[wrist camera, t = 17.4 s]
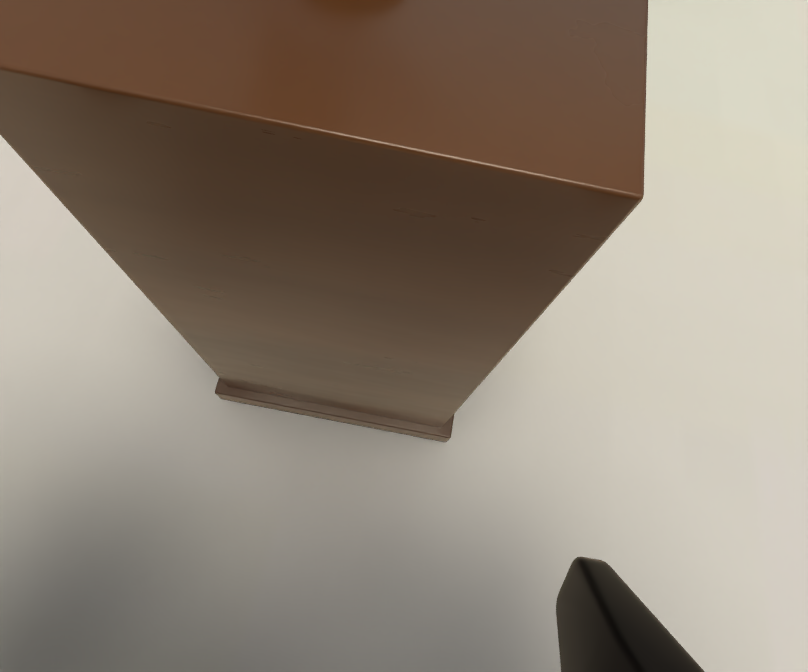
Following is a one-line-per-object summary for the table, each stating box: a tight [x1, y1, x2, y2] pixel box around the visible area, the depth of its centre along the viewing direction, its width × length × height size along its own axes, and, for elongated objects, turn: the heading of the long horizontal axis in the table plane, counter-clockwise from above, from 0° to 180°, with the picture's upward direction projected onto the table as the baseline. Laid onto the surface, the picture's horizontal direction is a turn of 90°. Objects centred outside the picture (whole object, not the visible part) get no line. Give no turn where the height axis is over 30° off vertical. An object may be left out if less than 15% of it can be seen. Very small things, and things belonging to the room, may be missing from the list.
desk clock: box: [0, 0, 648, 442], centre depth 11 cm, size 6×7×13 cm
